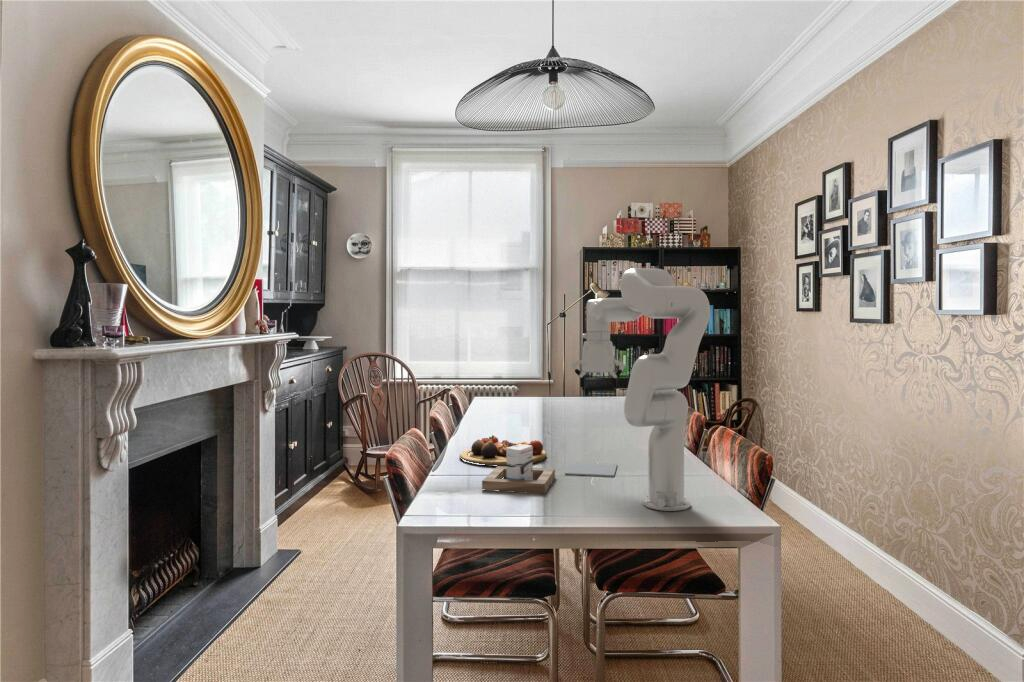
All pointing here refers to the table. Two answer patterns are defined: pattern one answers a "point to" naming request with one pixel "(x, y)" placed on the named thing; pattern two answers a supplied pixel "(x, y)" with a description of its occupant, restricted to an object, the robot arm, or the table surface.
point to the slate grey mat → (591, 469)
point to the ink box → (519, 462)
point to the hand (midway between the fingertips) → (598, 389)
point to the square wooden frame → (519, 481)
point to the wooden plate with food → (498, 451)
